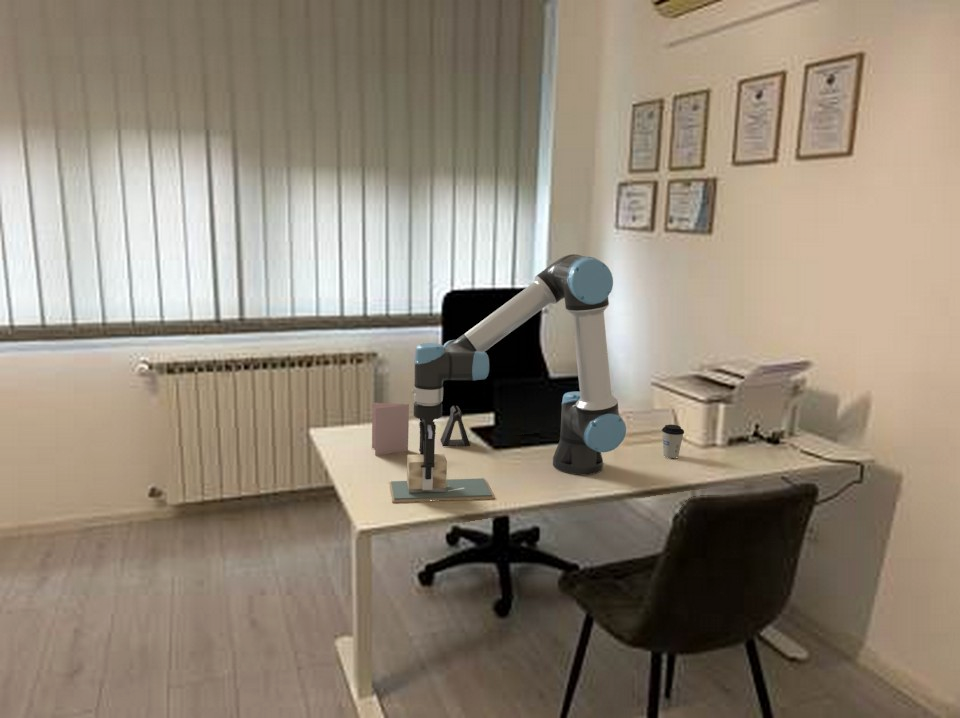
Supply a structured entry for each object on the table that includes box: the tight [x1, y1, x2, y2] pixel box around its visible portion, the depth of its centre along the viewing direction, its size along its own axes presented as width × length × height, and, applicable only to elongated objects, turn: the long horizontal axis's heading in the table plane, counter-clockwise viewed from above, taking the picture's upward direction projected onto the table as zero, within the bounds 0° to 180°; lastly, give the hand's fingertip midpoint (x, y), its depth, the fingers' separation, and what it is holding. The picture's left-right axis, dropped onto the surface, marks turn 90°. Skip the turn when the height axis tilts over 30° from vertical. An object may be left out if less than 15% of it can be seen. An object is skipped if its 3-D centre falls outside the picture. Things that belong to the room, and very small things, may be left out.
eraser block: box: [406, 453, 448, 493], centre depth 198 cm, size 10×6×8 cm, turn 100°
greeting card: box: [371, 402, 410, 456], centre depth 228 cm, size 11×7×15 cm, turn 89°
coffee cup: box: [661, 424, 685, 459], centre depth 234 cm, size 7×7×10 cm
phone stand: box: [440, 405, 471, 447], centre depth 239 cm, size 9×6×12 cm, turn 100°
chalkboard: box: [388, 477, 495, 504], centre depth 200 cm, size 27×13×1 cm, turn 101°
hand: (425, 484), depth 198 cm, fingers closed on eraser block, 6 cm apart
